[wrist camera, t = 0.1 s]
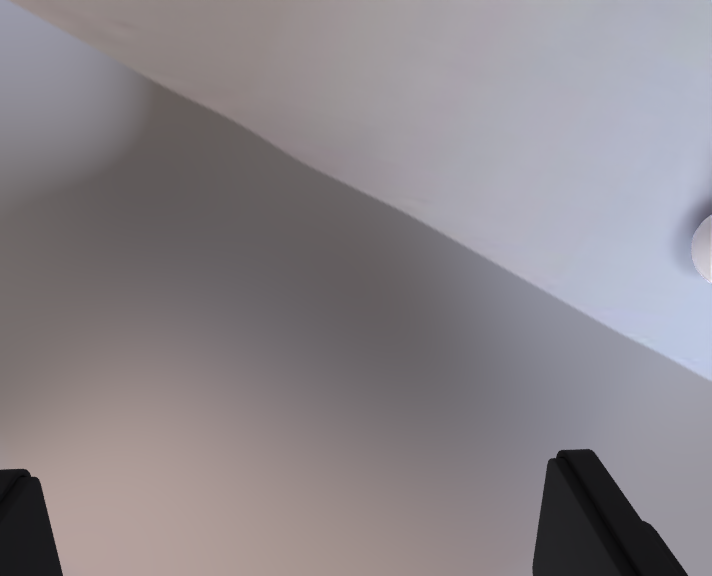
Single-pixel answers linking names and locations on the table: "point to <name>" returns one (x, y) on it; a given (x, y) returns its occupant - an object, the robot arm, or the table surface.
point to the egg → (703, 249)
